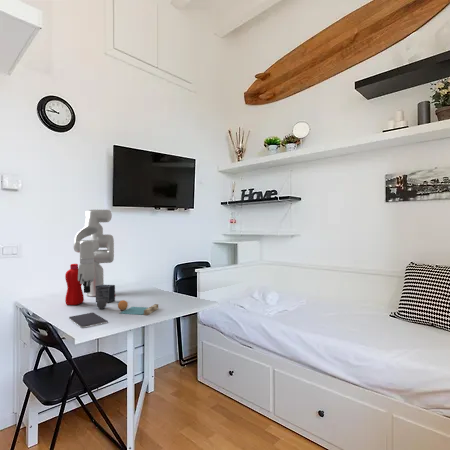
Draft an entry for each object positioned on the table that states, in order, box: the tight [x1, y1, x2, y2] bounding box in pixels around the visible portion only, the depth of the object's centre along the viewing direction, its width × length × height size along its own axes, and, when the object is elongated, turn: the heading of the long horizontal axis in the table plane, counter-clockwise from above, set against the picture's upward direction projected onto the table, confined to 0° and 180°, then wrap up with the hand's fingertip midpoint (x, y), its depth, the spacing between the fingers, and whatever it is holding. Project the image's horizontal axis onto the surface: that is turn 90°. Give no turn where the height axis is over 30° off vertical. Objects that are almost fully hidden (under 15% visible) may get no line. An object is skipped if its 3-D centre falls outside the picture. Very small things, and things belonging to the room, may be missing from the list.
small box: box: [95, 284, 116, 304], centre depth 206 cm, size 11×6×10 cm, turn 74°
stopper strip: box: [143, 303, 159, 316], centre depth 181 cm, size 14×2×2 cm, turn 167°
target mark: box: [119, 306, 149, 316], centre depth 183 cm, size 14×14×1 cm
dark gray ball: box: [96, 299, 107, 310], centre depth 189 cm, size 6×6×6 cm
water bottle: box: [64, 263, 85, 306], centre depth 201 cm, size 9×11×25 cm
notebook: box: [68, 311, 109, 328], centre depth 166 cm, size 13×2×21 cm
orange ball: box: [117, 299, 129, 311], centre depth 185 cm, size 6×6×6 cm
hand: (87, 292), depth 190 cm, fingers closed
